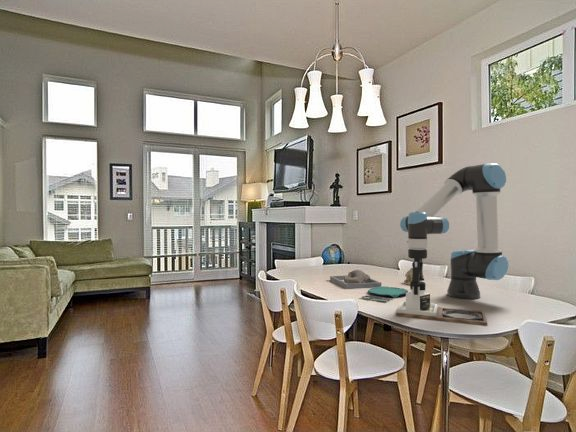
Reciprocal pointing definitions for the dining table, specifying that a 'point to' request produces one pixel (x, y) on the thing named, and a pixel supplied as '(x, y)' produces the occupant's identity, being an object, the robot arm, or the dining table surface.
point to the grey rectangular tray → (358, 285)
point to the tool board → (436, 314)
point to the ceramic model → (409, 277)
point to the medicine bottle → (424, 299)
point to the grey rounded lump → (356, 277)
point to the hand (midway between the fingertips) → (417, 299)
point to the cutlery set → (385, 293)
